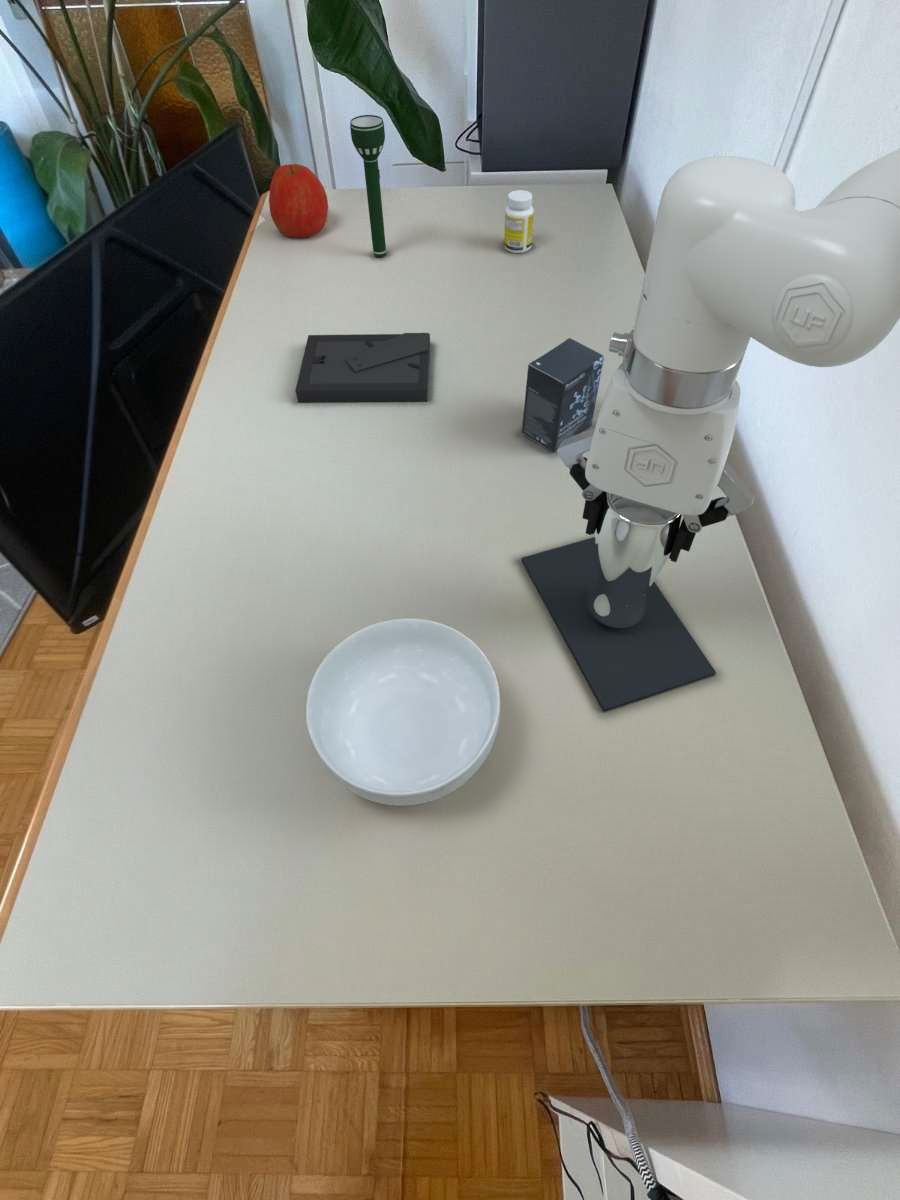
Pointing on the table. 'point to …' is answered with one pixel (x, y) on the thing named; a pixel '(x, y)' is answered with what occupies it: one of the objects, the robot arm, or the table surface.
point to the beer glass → (628, 558)
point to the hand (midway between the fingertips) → (634, 536)
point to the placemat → (615, 632)
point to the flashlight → (371, 172)
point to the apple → (297, 201)
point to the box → (561, 393)
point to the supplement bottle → (518, 222)
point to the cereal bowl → (403, 711)
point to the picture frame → (365, 368)
